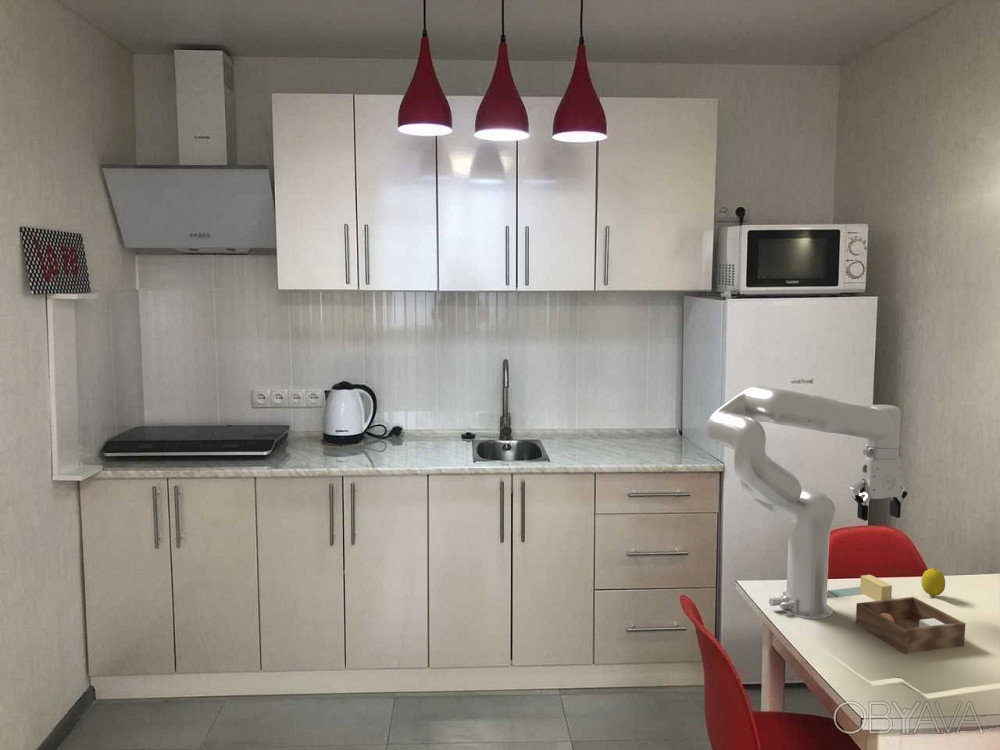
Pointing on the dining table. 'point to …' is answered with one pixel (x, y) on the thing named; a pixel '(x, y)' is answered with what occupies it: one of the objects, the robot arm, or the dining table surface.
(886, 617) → the ball
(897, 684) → the dining table surface
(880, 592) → the lid
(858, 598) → the dining table surface
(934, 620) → the block
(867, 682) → the dining table surface
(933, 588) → the lemon
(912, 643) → the box
